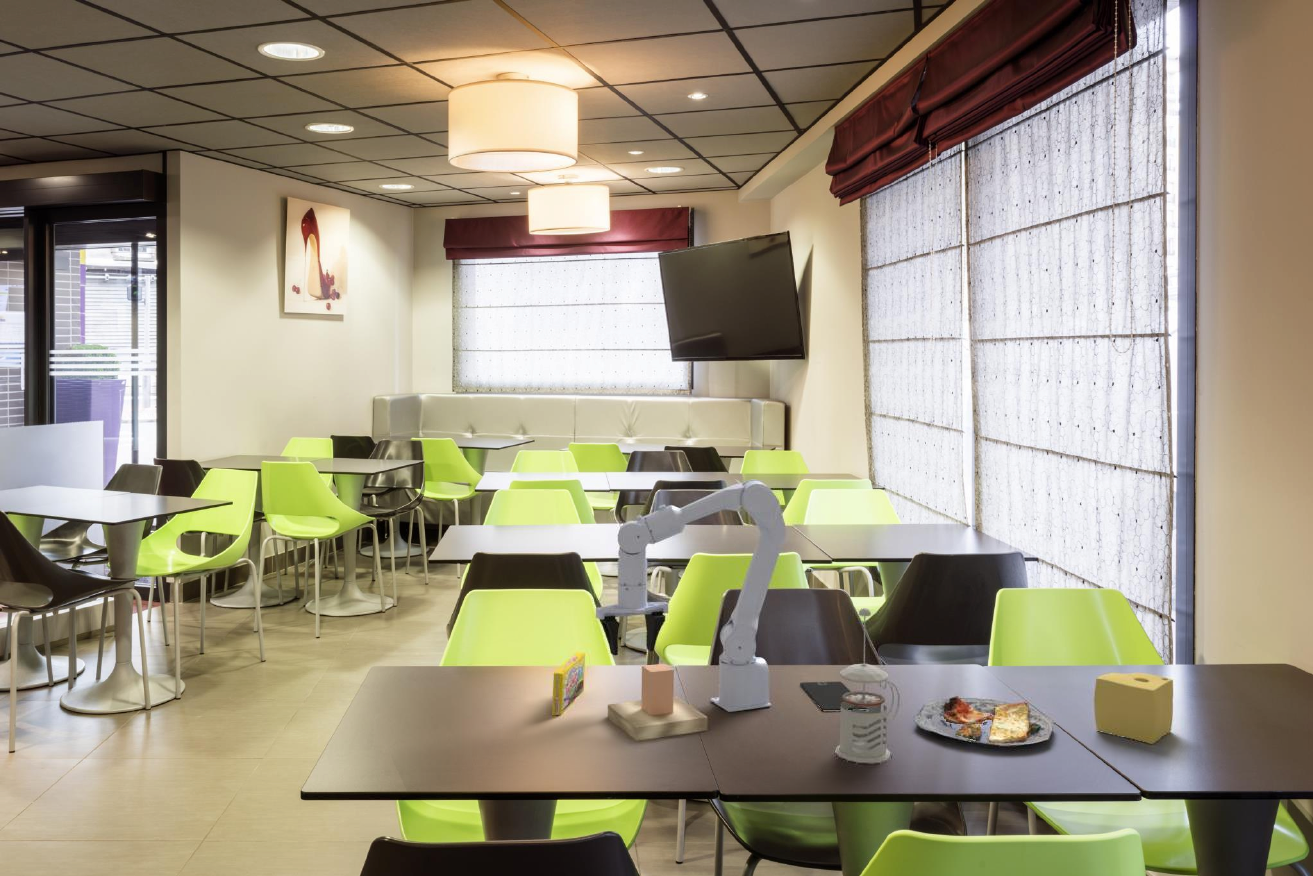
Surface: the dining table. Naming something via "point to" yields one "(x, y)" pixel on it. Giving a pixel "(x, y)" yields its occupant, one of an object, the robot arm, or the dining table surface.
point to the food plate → (1007, 723)
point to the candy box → (568, 683)
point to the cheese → (1134, 705)
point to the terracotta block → (657, 689)
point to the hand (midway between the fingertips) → (632, 652)
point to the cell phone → (828, 694)
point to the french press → (864, 714)
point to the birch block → (656, 720)
